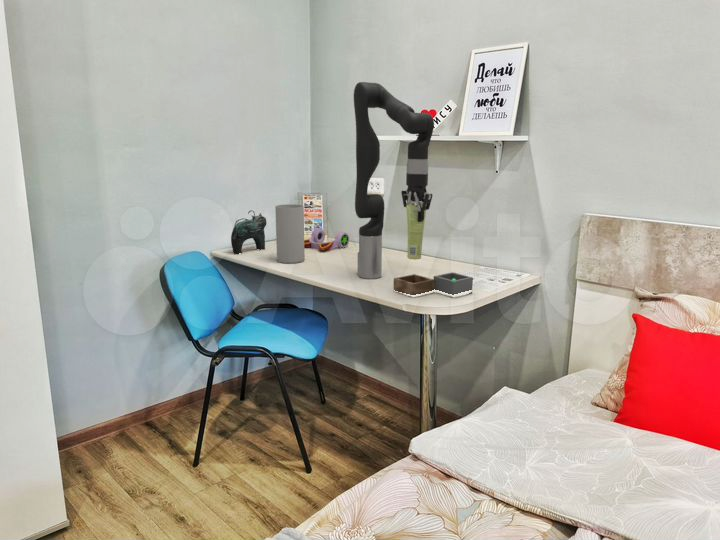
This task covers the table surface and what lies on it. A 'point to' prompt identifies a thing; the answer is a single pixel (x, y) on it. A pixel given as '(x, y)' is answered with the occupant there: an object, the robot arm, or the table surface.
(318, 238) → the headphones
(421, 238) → the tube
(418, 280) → the brown wooden square frame
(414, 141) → the robot arm
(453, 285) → the socket block
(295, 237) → the cylinder vase
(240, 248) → the ceramic cat
